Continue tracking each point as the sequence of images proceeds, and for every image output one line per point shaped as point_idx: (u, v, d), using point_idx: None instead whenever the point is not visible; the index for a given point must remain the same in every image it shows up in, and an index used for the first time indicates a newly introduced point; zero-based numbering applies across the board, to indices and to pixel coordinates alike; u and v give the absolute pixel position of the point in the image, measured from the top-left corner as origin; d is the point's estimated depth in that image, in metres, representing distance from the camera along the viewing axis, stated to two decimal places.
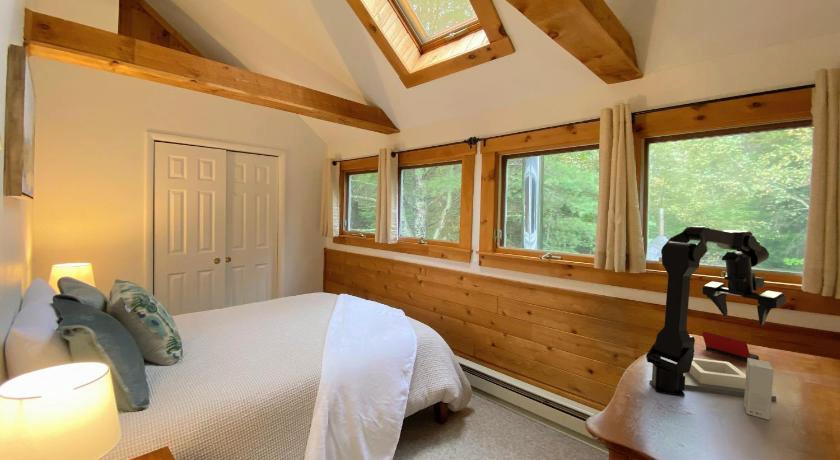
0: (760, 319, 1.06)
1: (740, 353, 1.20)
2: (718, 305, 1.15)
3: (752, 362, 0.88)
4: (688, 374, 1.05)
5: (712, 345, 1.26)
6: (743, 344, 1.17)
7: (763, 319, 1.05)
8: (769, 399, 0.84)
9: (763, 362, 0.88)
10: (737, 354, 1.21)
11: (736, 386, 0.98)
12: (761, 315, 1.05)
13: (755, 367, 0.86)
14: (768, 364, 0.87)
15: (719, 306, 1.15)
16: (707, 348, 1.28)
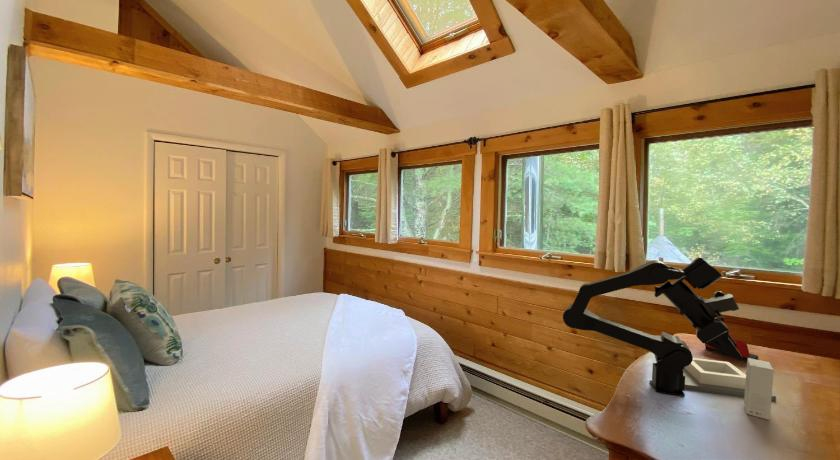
0: None
1: (740, 353, 1.19)
2: None
3: (752, 362, 0.88)
4: (688, 374, 1.05)
5: None
6: (743, 344, 1.17)
7: (729, 353, 0.87)
8: (769, 399, 0.84)
9: (763, 362, 0.88)
10: None
11: (736, 386, 0.98)
12: None
13: (755, 367, 0.86)
14: (768, 364, 0.87)
15: None
16: (707, 348, 1.28)
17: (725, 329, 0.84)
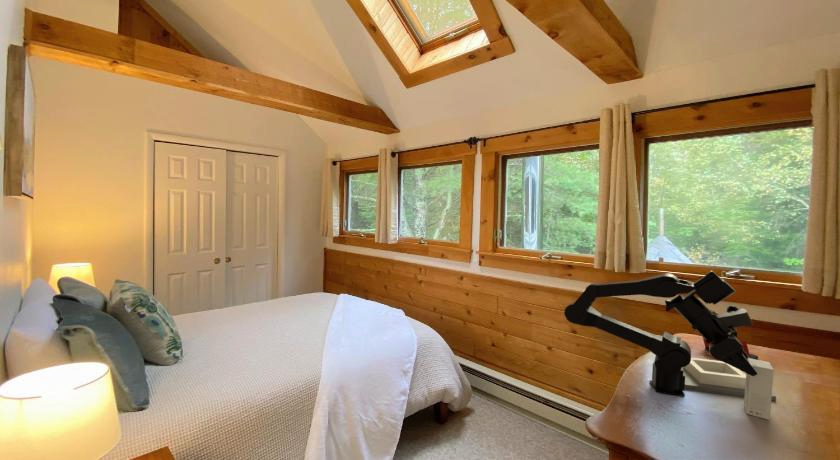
0: None
1: None
2: None
3: (752, 362, 0.88)
4: (688, 374, 1.05)
5: None
6: (743, 344, 1.17)
7: (743, 369, 0.85)
8: (769, 399, 0.84)
9: (763, 362, 0.88)
10: None
11: (736, 386, 0.98)
12: None
13: (755, 367, 0.86)
14: (768, 364, 0.87)
15: None
16: (706, 348, 1.28)
17: (739, 346, 0.83)
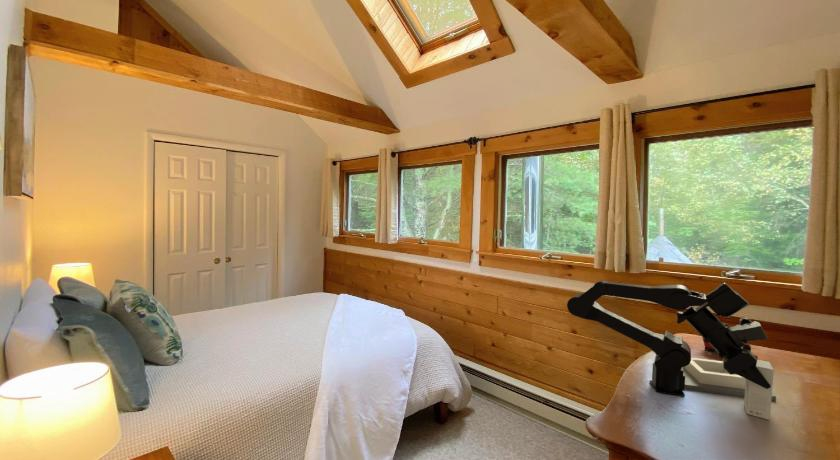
0: None
1: None
2: None
3: None
4: (688, 374, 1.05)
5: None
6: None
7: (757, 382, 0.85)
8: (769, 399, 0.84)
9: (763, 362, 0.88)
10: None
11: (736, 386, 0.98)
12: None
13: None
14: (768, 364, 0.87)
15: None
16: (706, 348, 1.28)
17: (754, 361, 0.81)
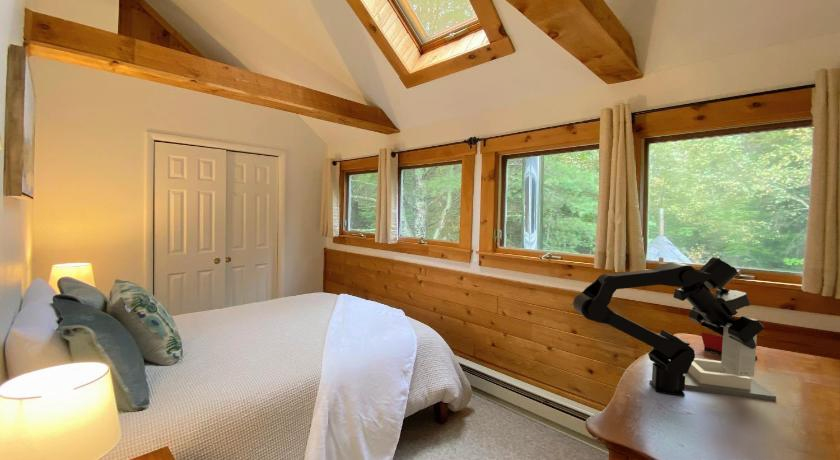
0: (745, 345, 0.94)
1: None
2: (716, 332, 1.01)
3: None
4: (688, 374, 1.05)
5: (711, 346, 1.26)
6: None
7: (748, 345, 0.93)
8: (754, 358, 0.94)
9: None
10: None
11: (736, 386, 0.98)
12: (741, 343, 0.93)
13: None
14: None
15: (718, 333, 1.01)
16: (706, 349, 1.28)
17: (762, 326, 0.88)
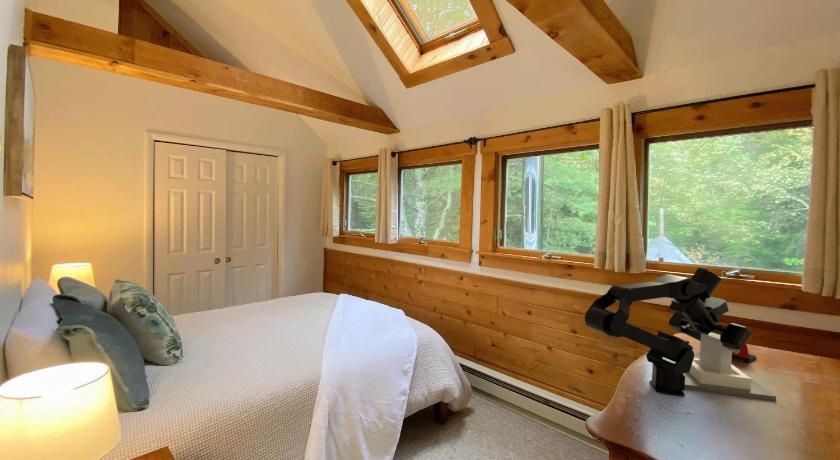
0: (733, 351, 0.98)
1: (739, 353, 1.19)
2: (690, 336, 1.07)
3: (713, 336, 1.03)
4: (688, 374, 1.05)
5: None
6: (743, 345, 1.16)
7: (736, 350, 0.98)
8: (730, 364, 1.01)
9: (712, 333, 1.05)
10: (736, 355, 1.20)
11: (736, 386, 0.98)
12: (731, 350, 0.97)
13: None
14: None
15: (692, 336, 1.07)
16: None
17: (750, 332, 0.94)
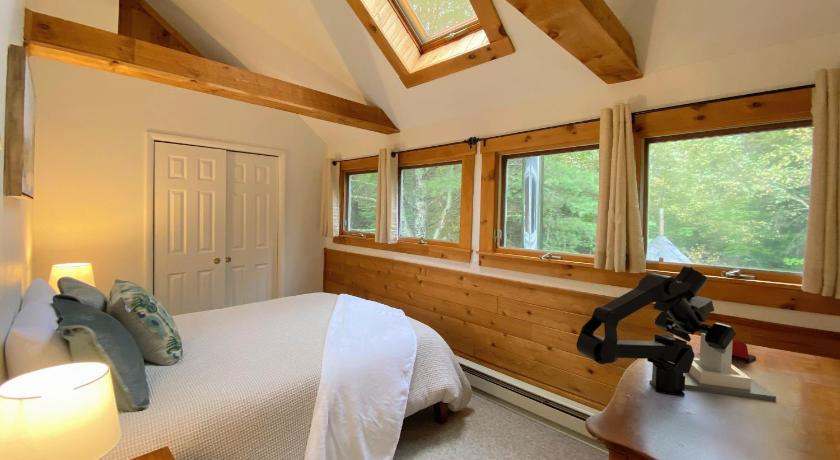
0: (718, 351, 0.97)
1: (739, 353, 1.19)
2: None
3: None
4: (688, 374, 1.05)
5: None
6: (743, 345, 1.16)
7: (721, 350, 0.96)
8: (730, 364, 1.01)
9: None
10: (736, 355, 1.20)
11: (736, 386, 0.98)
12: (717, 350, 0.96)
13: None
14: None
15: (678, 336, 1.06)
16: None
17: (735, 332, 0.92)
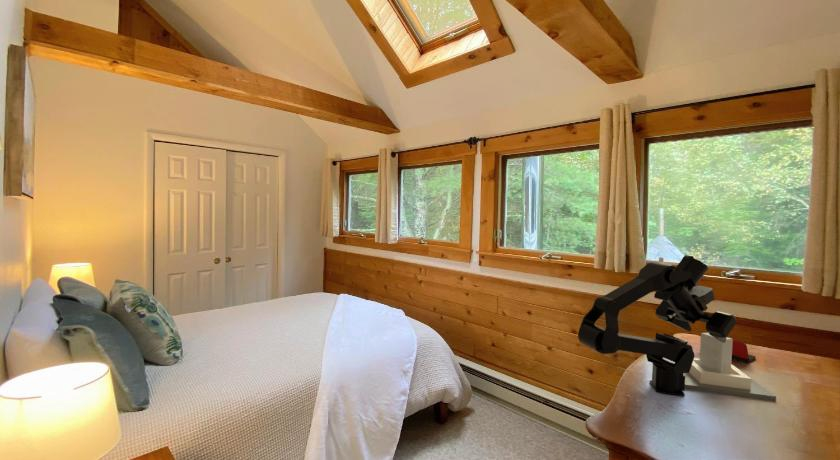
0: (719, 340, 0.97)
1: (739, 354, 1.19)
2: (677, 325, 1.06)
3: None
4: (688, 374, 1.05)
5: None
6: (743, 345, 1.16)
7: (722, 339, 0.96)
8: (730, 364, 1.01)
9: None
10: (736, 355, 1.20)
11: (736, 386, 0.98)
12: (717, 338, 0.95)
13: None
14: None
15: (678, 326, 1.06)
16: None
17: (736, 320, 0.92)
